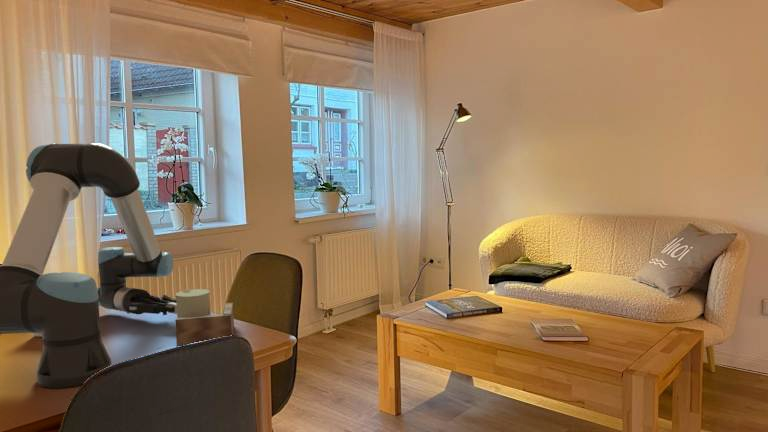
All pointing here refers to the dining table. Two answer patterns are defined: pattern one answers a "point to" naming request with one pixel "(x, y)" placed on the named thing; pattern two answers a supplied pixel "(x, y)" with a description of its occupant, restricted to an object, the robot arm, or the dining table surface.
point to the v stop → (204, 326)
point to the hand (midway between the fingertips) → (184, 309)
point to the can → (193, 303)
